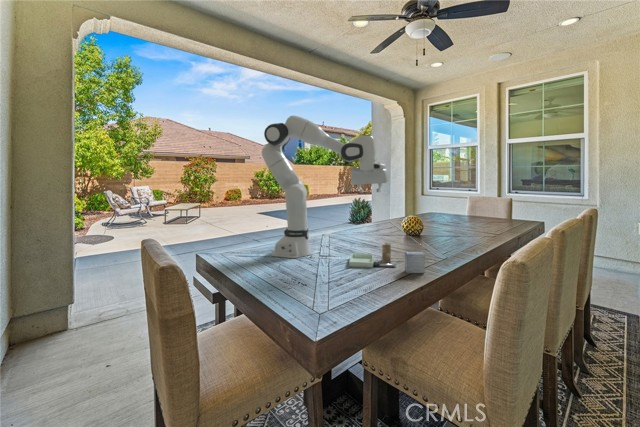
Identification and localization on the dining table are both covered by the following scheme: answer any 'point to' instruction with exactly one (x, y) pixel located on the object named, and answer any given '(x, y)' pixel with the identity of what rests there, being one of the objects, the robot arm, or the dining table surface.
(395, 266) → the pin gauge
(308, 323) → the dining table surface
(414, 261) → the medicine box
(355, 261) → the tray
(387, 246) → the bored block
